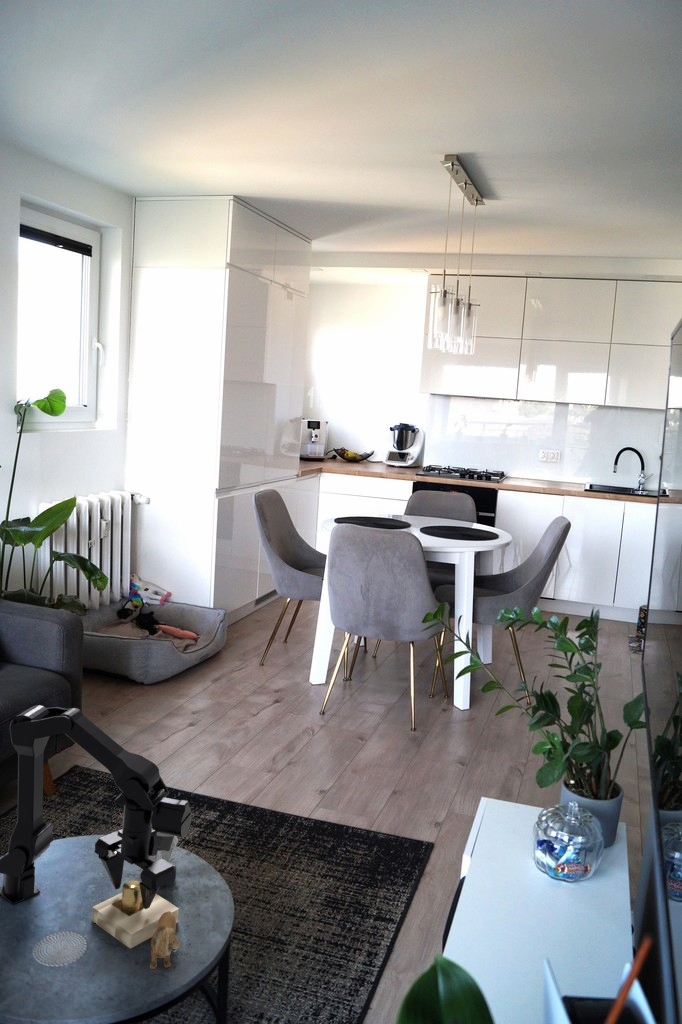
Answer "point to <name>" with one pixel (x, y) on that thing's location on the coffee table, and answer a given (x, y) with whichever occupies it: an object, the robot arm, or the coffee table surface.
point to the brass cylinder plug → (131, 898)
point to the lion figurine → (164, 939)
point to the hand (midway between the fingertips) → (131, 898)
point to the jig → (131, 919)
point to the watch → (155, 858)
